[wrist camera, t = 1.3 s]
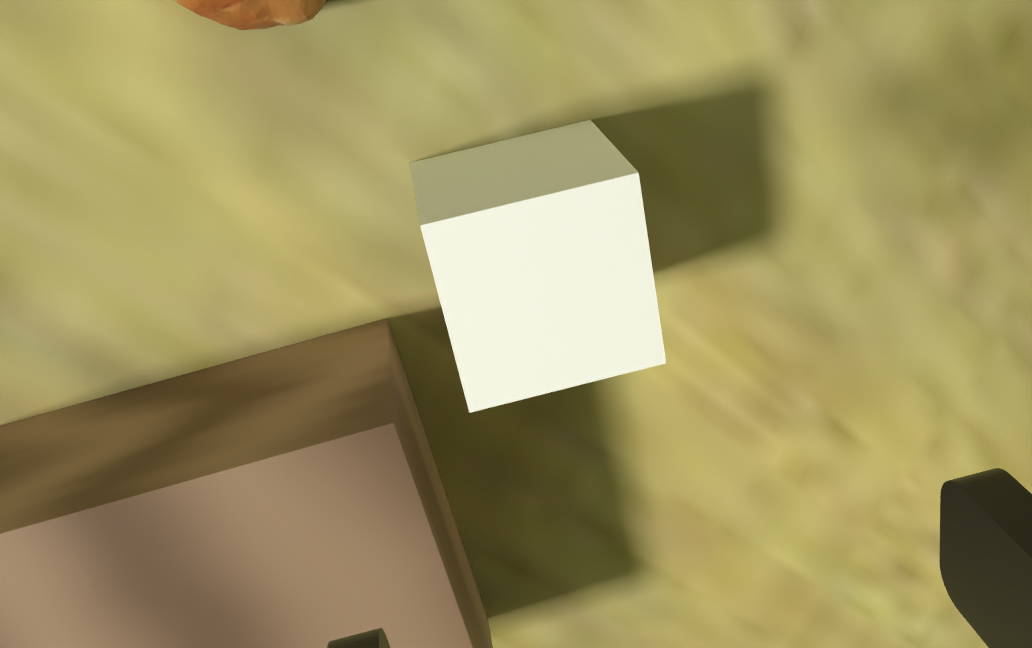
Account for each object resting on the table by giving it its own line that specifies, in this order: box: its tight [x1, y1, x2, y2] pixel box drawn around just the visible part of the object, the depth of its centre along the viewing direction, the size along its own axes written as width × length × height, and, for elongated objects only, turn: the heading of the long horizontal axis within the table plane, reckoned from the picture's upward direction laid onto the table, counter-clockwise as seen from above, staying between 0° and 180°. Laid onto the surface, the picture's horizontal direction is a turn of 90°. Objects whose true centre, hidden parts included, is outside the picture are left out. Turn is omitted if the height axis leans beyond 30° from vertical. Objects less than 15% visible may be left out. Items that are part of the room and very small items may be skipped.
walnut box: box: [0, 318, 493, 648], centre depth 27 cm, size 12×12×6 cm
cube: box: [409, 120, 666, 413], centre depth 24 cm, size 5×5×5 cm
